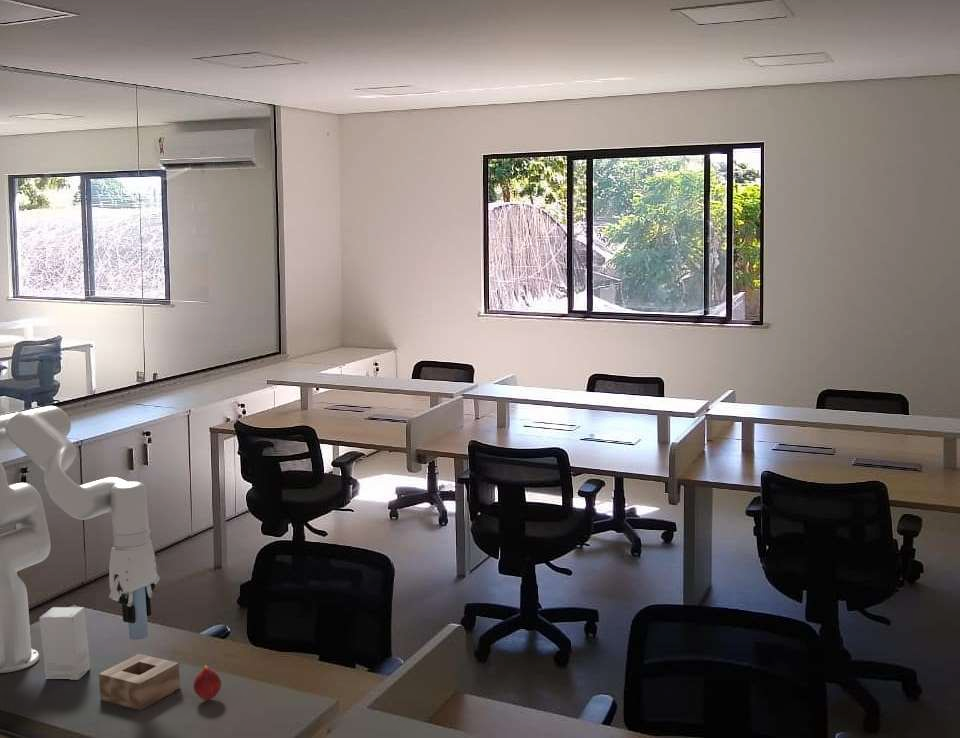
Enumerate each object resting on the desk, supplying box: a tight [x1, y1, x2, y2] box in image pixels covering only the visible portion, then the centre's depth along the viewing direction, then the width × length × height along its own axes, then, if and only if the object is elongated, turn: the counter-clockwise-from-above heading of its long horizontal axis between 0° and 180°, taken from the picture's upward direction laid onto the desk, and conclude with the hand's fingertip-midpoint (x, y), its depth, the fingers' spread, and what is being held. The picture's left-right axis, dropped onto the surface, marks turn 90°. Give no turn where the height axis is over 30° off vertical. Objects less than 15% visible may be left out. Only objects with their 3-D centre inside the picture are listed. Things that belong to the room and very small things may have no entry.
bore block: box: [98, 653, 181, 711], centre depth 233 cm, size 12×12×6 cm
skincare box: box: [39, 606, 91, 681], centre depth 242 cm, size 8×7×16 cm
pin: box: [125, 587, 149, 641], centre depth 230 cm, size 4×4×14 cm
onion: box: [193, 665, 222, 702], centre depth 229 cm, size 6×6×8 cm
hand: (137, 617), depth 230 cm, fingers closed on pin, 4 cm apart
